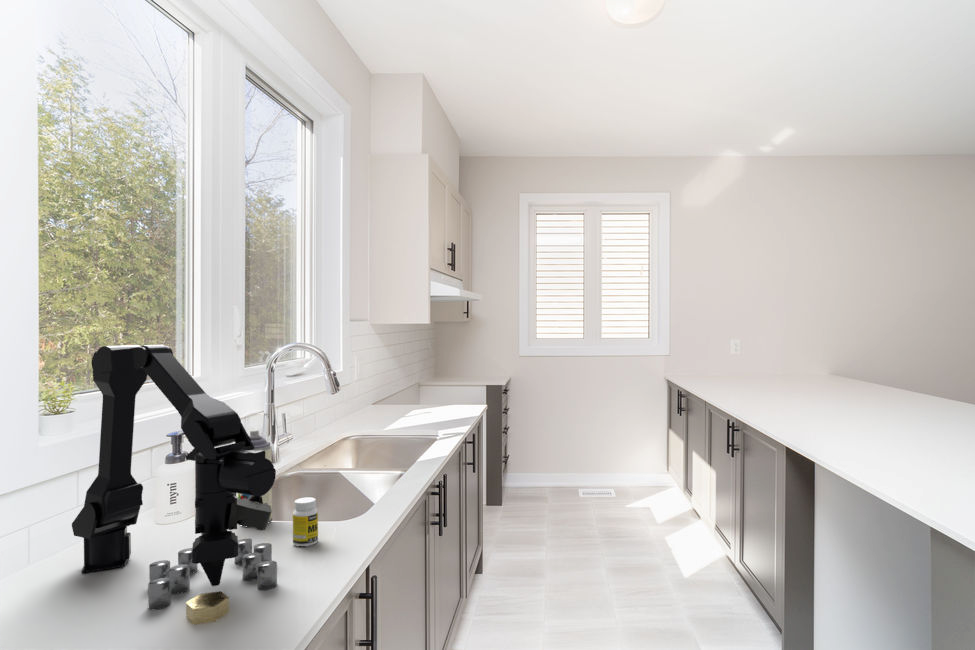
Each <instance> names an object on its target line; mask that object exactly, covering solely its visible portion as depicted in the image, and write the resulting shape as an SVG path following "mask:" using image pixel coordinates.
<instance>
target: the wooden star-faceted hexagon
mask: <svg viewBox="0 0 975 650" xmlns="http://www.w3.org/2000/svg"><path fill="white" fill-rule="evenodd" d="M229 604H230V603H229V596H227V595H226V594H225V593H224V592H223V591H211V592H204V593H200V594H198V595H196V596H195V597H193V598H191V599H189V600H188V601H186V602H185V607H186V609H185V612H186V617H187V618H188V619H187V618H186V619H187V620H188V621H189V622H190V624H192V625H193V624H194V625H200V623H202V624H207V622H210V623H216V622H217V621H219V620H220V619H221V618H223V617H224V616H227V614H229V613H228V612H229V611H230V605H229ZM219 618H220V619H219ZM216 620H217V621H216Z"/></svg>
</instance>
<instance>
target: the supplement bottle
mask: <svg viewBox="0 0 975 650" xmlns="http://www.w3.org/2000/svg"><path fill="white" fill-rule="evenodd" d="M316 506H317V499H316V498H315V497H309V496H308V497H300V498H297V499H295V500H294V509H295V510H294V511H292V544H293V545H294V546H295V547H299V546H302V547H303V546H305V547H310V545H311V546H314V545H315V544H316V543H318V542H319V512H318V511H319V510H318V508H317V507H316Z"/></svg>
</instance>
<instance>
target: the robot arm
mask: <svg viewBox="0 0 975 650" xmlns="http://www.w3.org/2000/svg"><path fill="white" fill-rule="evenodd" d="M91 368H92V380H93V382H94V383H95V384H94V385H96V387H97V388H98V389H99V391H100V393H101V394H102V406H101V421H100V422H101V423H100V438H99V441H100V442H99V457H98V469H97V471H98V473H97V476H96V477H95V479H94V480H93V481H92V483H91V485H90V486H89V488H88V489H87V490H86V492H85V497H84V505H83V507H82V509H80V511H79V513H78V514H77V515H76V517H75V519H74V520H73V522H72V523H71V528H72V529H71V530H72V533H73V536H75V537H79V538H83V567H82V568H81V573H83V574H84V573H86V574H87V573H90V572H91V573H92V572H97V571H103V570H109V569H116V568H122V567H125V566H126V564H127V561H128V560H129V559H130V558H131V554H132V538H131V537H132V536H131V532H128V527H129V526H133V525H136V524H137V521H138V518H139V515H140V514H139V513H140V509H141V506H143V505H144V503H143V491H144V486H143V484H142V483H138V482H137V480H136V479H135V478H134V476H133V474H132V460H133V447H134V446H133V443H134V441H133V440H134V427H135V426H134V425H135V409H136V397H137V394H138V392H139V391H140V390H141V388H142V387H143V385H144V384H145V382H146V381H147V379H148V377H149V378H150V379H151V381H152V382H153V384H155V385H156V387H157V388H158V389H159V391H160V392H161V393H162V395H163V396H165V398H166V399H167V400H168V401H169V403H170V404H171V405H172V406H173V407H174V409H176V411H177V412H178V414H179V415H180V429H181V430H182V432H183V434H184V436H185V438H186V439H187V441H188V443H189V444H190V445H191V446H192V447H193V449H192V450H191V451H190V452H188V453H187V454H186V456H185V459H186V461H191V462H192V461H194V462H195V464H194V470H195V471H194V475H195V477H194V481H195V484H194V485H195V486H194V489H195V492H194V493H195V498H194V509H195V511H194V513H195V519H194V534H195V535H197V534H198V537H195V538H194V539H195V540H194V541H193V542H192V547H191V548H192V563H195V564H197V565H198V564H200V565H201V567H202V570H203V571H204V574H205V575H206V577H207V579H208V582H209V584H210V585H211V587H217V586H220V584H221V580H222V575H223V572H224V571H223V569H224V565H225V561H226V560H228V559H229V560H230V559H235V557H237V556H238V540H239V539H238V535H237V534H236V533H235V532H233V531H232V530H237V529H238V526H239V525H242V526H247V527H246V528H252V529H253V528H254V529H256V530H257V531H266V530H267V527H268V524H269V523H268V521H269V518H270V516H271V513H272V514H273V509H272V510H271V506H270V505H268V504H267V503H265V504H264V503H263V500H262V496H263V495H265V494H266V493H267V492H268V491H269V490H270V489H271V488H272V489H273V485H275V484H274V483H275V480H276V475H277V472H276V471H277V470H276V468H275V465H274V463H273V462H272V460H271V461H270V460H268V459H266V458H265V451H263V450H257V451H251V450H254V445H253V443H252V442H251V438H250V437H249V436H250V435H249V434H248V433H247V430H246V429H245V427H244V425H243V423H242V420H241V417H240V416H239V414H238V412H236V411H235V410H234V409H233V408H231V407H230V406H229V405H228V404H226V403H225V402H224V401H221V400H219V399H216V398H214V397H211V396H210V395H209V394H207V393H206V391H204V389H203V388H202V387H201V386H200V385H199V384H198V382H197V381H196V380H195V379H194V378H193V377H192V375H190V374H189V372H188V371H187V370H186V369H185V367H184V366H183V365H182V364H181V363H180V362H179V361H178V359H177V358H176V357H175V356H174V352H173V350H172V348H171V347H170V346H167V345H166V344H148V345H147V344H145V345H144V344H143V345H139V344H131V345H129V344H127V345H105V346H103V345H102V346H101V347H99V348H98V350H97V351H94V353H93V355H92V358H91ZM238 493H240V494H246V495H250V496H249V497H248V498H247V499H246V498H244V499H238V495H237V494H238ZM199 534H200V535H199Z"/></svg>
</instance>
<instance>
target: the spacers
mask: <svg viewBox="0 0 975 650" xmlns="http://www.w3.org/2000/svg"><path fill="white" fill-rule="evenodd" d="M272 549H273V547H272V543H270V542H261V543H258V544H256V545H255V544H254V545H253V539H252V538H241V539H238V556H237V557H235V558H234V564H236V563H237V564H236V565H242V579H243V580H244V581H252V580H253V579H254V580H257V589H258V590H263V591H264V590H265V591H266V589H267V590H270V589H274V588H275V587H277V586H278V566H277V565H278V563H277V561H276V560H272V559H273V556H272V555H273V554H272V553H273V552H272ZM242 563H243V564H242ZM148 569H149V573H148V574H149V575H148V576H149V582H148V584H147V590H148V591H147V592H148V593H147V594H148V596H147V599H148V606H147V607H149V608H148V609H149V610H152V609H156V610H161V609H164V607H165V608H167V607H169V606H170V605H171V604H170V603H172V599H171V598H172V594H171V593H179V594H182V593H181V592H183V593H186V592H188V591H189V590H190V589H189V588H191V586H190V585H191V582H190V581H191V580H190V579H191V577H190V576H191V574H190V573H192V574H194V573H196V572H198V571H199V570H198V564H195V563H192V547H188V548H184V549H181V550H179V551H178V552H177V565H174V566H172V567H171V561H170V560H169V559H168V560H166V559H165V560H164V559H163V560H158V561H157V560H156V561H154V562H151V563H150V564H149V566H148ZM195 571H196V572H195ZM193 572H194V573H193ZM256 578H257V579H256ZM188 589H189V590H188ZM187 590H188V591H187ZM185 591H186V592H185ZM169 604H170V605H169ZM160 608H161V609H160Z"/></svg>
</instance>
